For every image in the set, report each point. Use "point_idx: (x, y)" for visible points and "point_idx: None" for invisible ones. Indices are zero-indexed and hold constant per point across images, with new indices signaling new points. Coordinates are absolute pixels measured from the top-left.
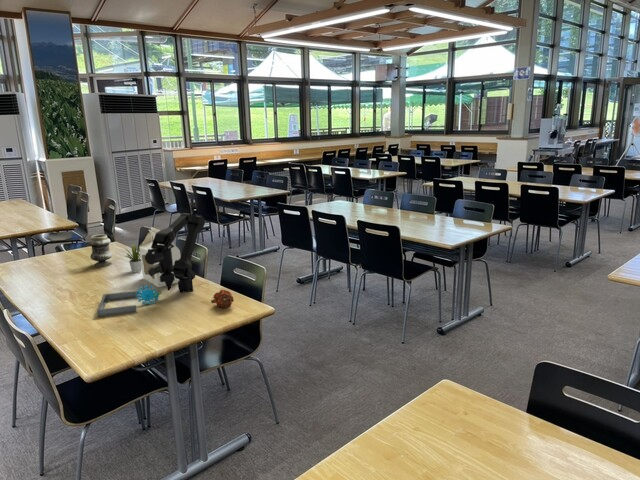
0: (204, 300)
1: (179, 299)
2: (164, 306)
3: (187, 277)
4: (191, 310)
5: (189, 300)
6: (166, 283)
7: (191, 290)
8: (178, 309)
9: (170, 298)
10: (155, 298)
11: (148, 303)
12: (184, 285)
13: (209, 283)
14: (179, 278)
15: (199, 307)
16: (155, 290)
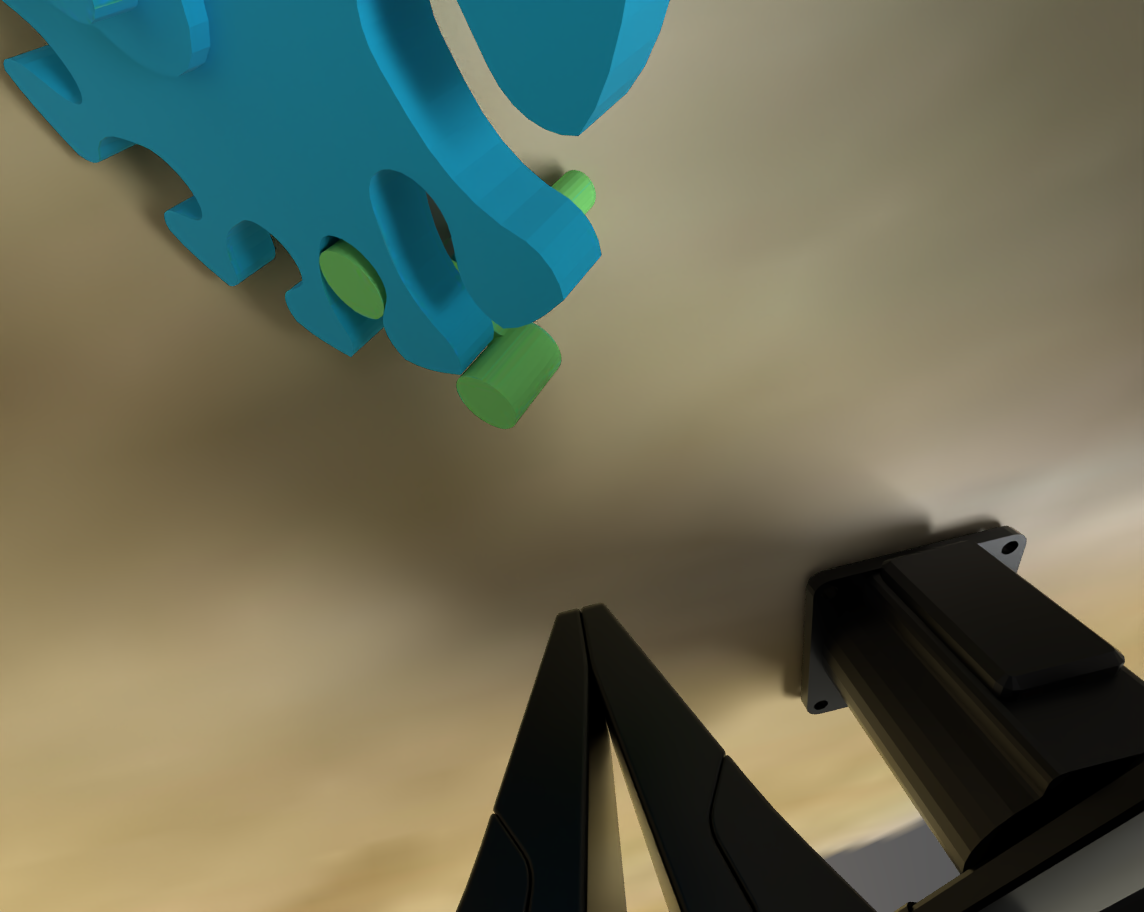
0: (435, 856)
1: (492, 637)
2: (107, 515)
3: (1040, 905)
4: (61, 851)
5: (441, 748)
6: (480, 906)
7: (807, 698)
8: (37, 734)
9: (560, 502)
10: (302, 280)
11: (28, 94)
12: (886, 720)
13: None
14: (1121, 789)
15: (194, 878)
16: (486, 282)
